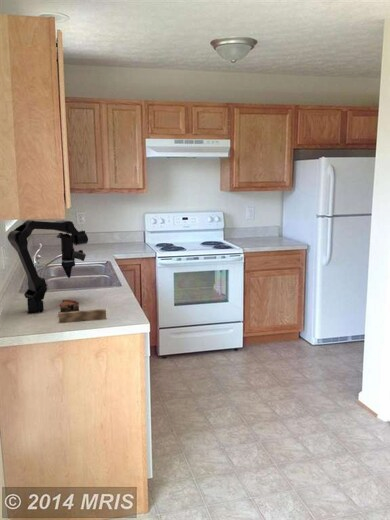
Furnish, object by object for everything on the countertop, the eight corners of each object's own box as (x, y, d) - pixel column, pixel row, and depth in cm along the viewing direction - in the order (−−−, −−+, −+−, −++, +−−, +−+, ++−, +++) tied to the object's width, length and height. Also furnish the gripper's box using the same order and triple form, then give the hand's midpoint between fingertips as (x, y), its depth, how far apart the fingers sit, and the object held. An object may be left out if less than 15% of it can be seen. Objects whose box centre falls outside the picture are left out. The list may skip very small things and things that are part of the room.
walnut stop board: (59, 322, 204) (58, 313, 203) (59, 321, 206) (58, 312, 205) (106, 318, 209) (105, 310, 208) (105, 317, 211) (105, 308, 210)
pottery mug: (52, 317, 214) (56, 299, 216) (70, 322, 220) (74, 304, 223) (67, 315, 206) (71, 297, 208) (85, 320, 212) (88, 302, 215)
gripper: (85, 248, 222) (86, 280, 225) (83, 243, 240) (85, 272, 243) (60, 249, 219) (62, 282, 222) (60, 244, 237) (62, 274, 240)
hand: (69, 277), depth 232 cm, fingers closed
